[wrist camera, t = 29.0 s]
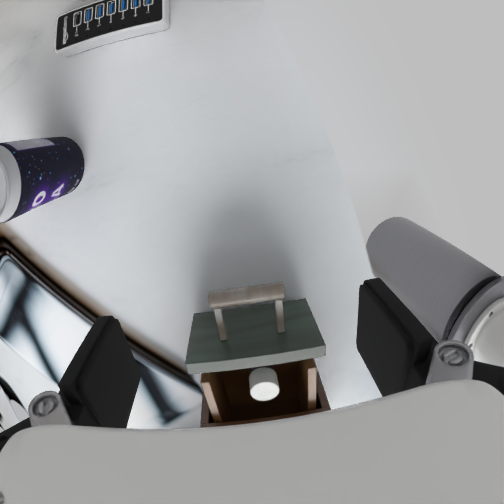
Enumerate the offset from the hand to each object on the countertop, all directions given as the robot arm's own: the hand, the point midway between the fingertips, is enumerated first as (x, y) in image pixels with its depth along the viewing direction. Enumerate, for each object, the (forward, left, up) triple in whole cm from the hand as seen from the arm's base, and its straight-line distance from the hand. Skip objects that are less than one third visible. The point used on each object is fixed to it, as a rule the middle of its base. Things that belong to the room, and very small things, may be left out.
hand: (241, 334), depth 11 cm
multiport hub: (+9, -21, -19) cm, 29 cm away
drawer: (0, +14, -17) cm, 23 cm away
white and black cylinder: (0, +14, -16) cm, 22 cm away
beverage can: (+16, -8, -19) cm, 26 cm away
